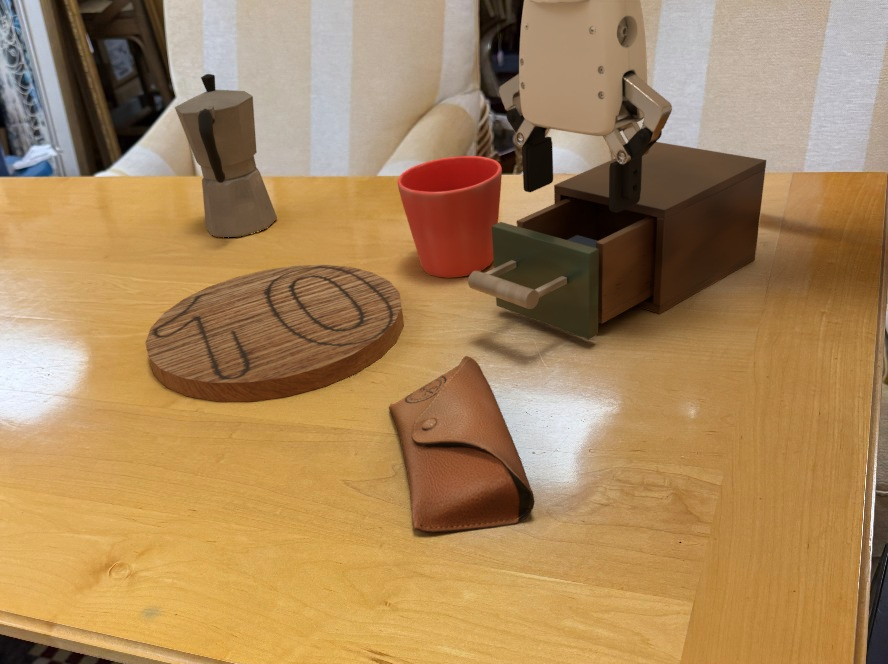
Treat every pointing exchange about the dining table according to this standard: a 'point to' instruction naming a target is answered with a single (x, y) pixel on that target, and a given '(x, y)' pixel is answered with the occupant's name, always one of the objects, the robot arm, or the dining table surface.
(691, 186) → the cabinet
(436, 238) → the flower pot
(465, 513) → the sunglasses case
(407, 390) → the dining table surface
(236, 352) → the trivet
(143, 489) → the dining table surface
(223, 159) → the coffeepot
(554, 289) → the drawer
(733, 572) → the dining table surface
